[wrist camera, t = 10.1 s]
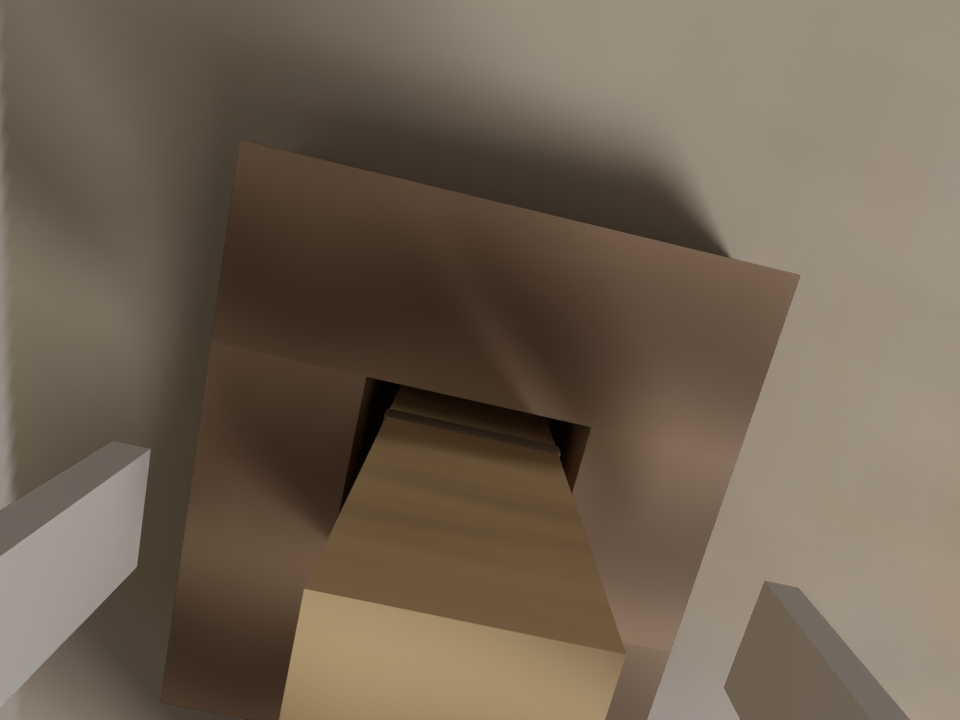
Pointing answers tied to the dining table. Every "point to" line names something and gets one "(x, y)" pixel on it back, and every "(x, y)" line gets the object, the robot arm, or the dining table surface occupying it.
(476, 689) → the peg
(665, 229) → the dining table surface
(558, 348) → the board
